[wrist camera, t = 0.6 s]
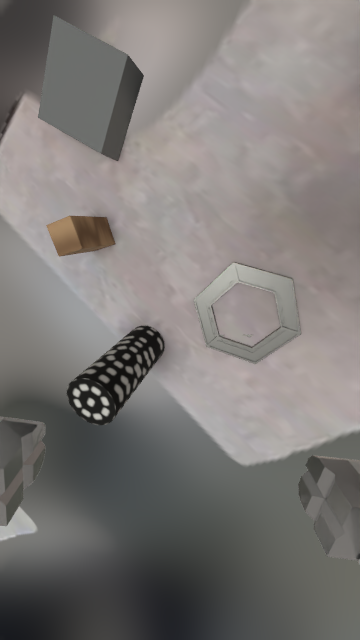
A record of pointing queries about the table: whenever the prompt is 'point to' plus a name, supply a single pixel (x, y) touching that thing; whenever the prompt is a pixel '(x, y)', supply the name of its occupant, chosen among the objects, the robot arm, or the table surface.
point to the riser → (88, 89)
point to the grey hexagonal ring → (260, 350)
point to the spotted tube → (115, 376)
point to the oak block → (80, 234)
